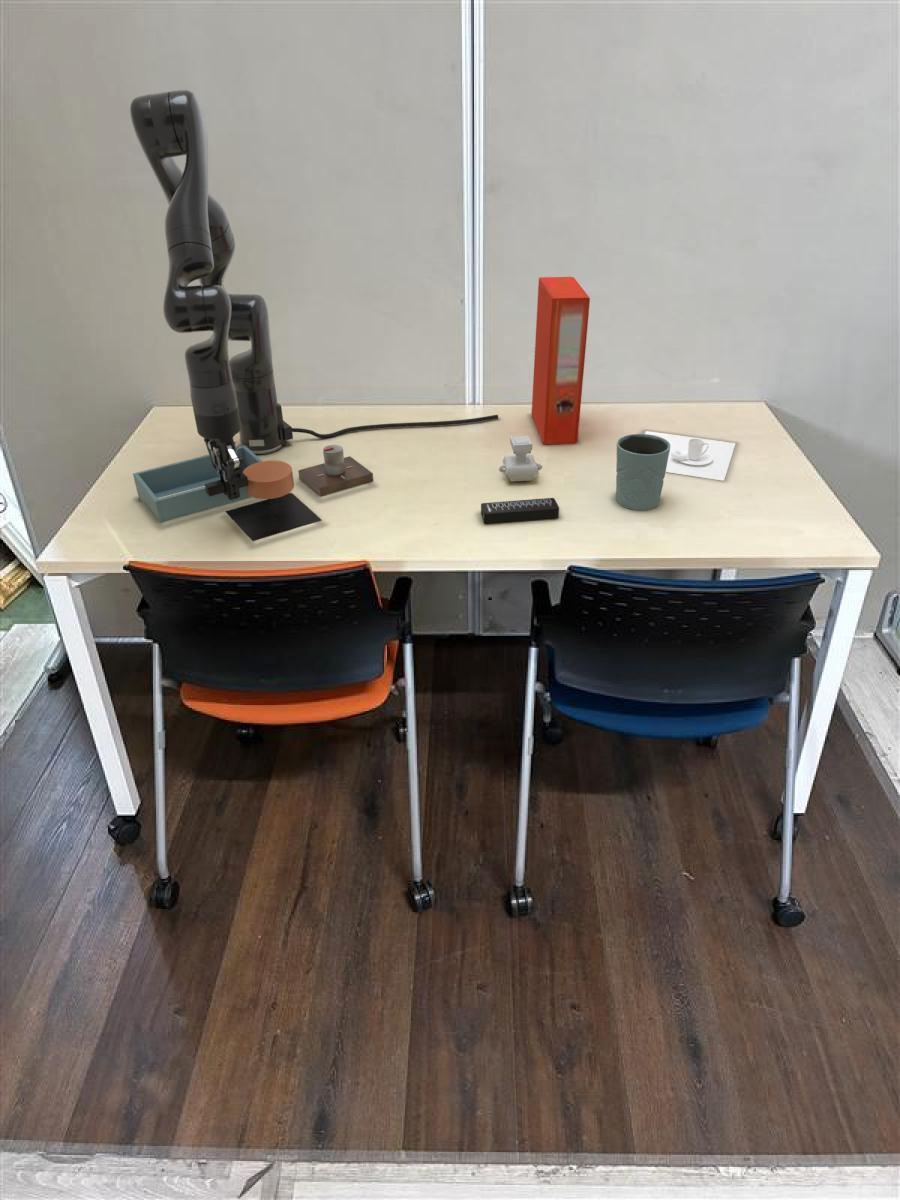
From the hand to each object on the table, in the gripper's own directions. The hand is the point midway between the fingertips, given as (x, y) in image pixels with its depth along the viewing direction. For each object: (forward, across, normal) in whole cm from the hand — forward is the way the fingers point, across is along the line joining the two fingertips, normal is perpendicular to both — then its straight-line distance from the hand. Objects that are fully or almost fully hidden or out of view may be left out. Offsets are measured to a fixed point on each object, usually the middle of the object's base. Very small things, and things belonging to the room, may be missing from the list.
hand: (231, 495), depth 157 cm
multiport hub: (+8, -26, -47) cm, 54 cm away
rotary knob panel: (+8, +7, -24) cm, 26 cm away
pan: (+1, 0, -4) cm, 4 cm away
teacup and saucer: (+8, -24, -93) cm, 96 cm away
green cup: (+8, -33, -70) cm, 78 cm away
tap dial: (+5, +7, -24) cm, 26 cm away
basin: (+8, +17, 0) cm, 19 cm away
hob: (+8, 0, -7) cm, 11 cm away
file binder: (+8, +4, -79) cm, 80 cm away
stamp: (+8, -12, -57) cm, 59 cm away
